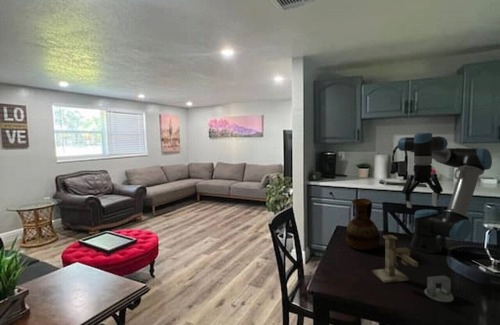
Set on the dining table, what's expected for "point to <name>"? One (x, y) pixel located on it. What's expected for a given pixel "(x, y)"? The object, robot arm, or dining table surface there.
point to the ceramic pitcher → (362, 227)
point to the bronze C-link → (398, 251)
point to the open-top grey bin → (438, 279)
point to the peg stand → (391, 272)
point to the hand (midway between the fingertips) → (421, 206)
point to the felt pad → (440, 296)
